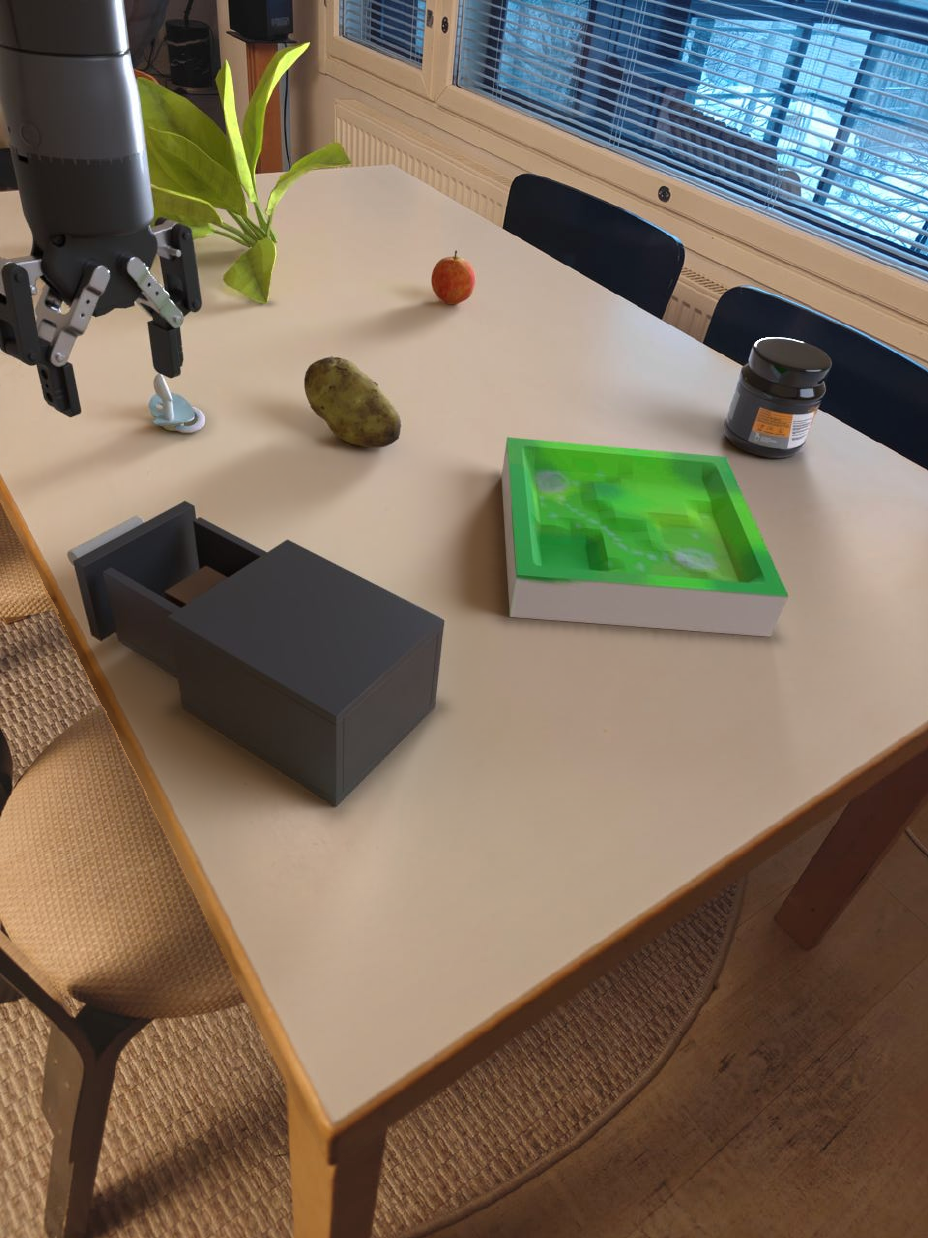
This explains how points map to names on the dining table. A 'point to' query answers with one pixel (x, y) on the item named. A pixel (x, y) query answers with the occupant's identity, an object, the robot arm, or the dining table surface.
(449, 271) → the fruit
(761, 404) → the supplement container
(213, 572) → the block
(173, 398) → the pacifier
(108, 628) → the drawer
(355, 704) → the cabinet
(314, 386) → the potato
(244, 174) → the artificial plant
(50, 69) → the robot arm
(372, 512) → the dining table surface
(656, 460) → the tray
